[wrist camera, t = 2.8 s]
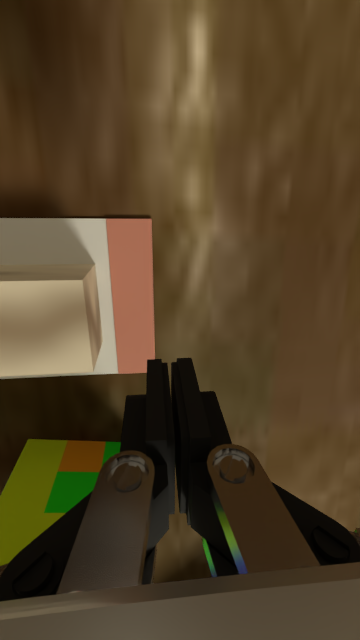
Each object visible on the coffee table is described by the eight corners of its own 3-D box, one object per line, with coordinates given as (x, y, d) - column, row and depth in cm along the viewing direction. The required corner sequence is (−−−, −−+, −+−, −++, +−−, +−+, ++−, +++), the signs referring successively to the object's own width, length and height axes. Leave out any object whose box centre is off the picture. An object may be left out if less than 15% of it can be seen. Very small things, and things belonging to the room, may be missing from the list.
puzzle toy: (32, 515, 29) (-20, 659, 20) (28, 438, 26) (-37, 570, 17) (132, 515, 31) (126, 649, 22) (142, 442, 27) (140, 565, 18)
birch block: (102, 340, 23) (93, 372, 19) (-7, 344, 22) (-42, 378, 18) (95, 263, 20) (82, 280, 16) (-27, 265, 20) (-73, 282, 16)
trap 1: (155, 370, 24) (155, 372, 24) (118, 372, 24) (118, 373, 24) (151, 218, 20) (151, 219, 20) (106, 218, 20) (105, 218, 19)
